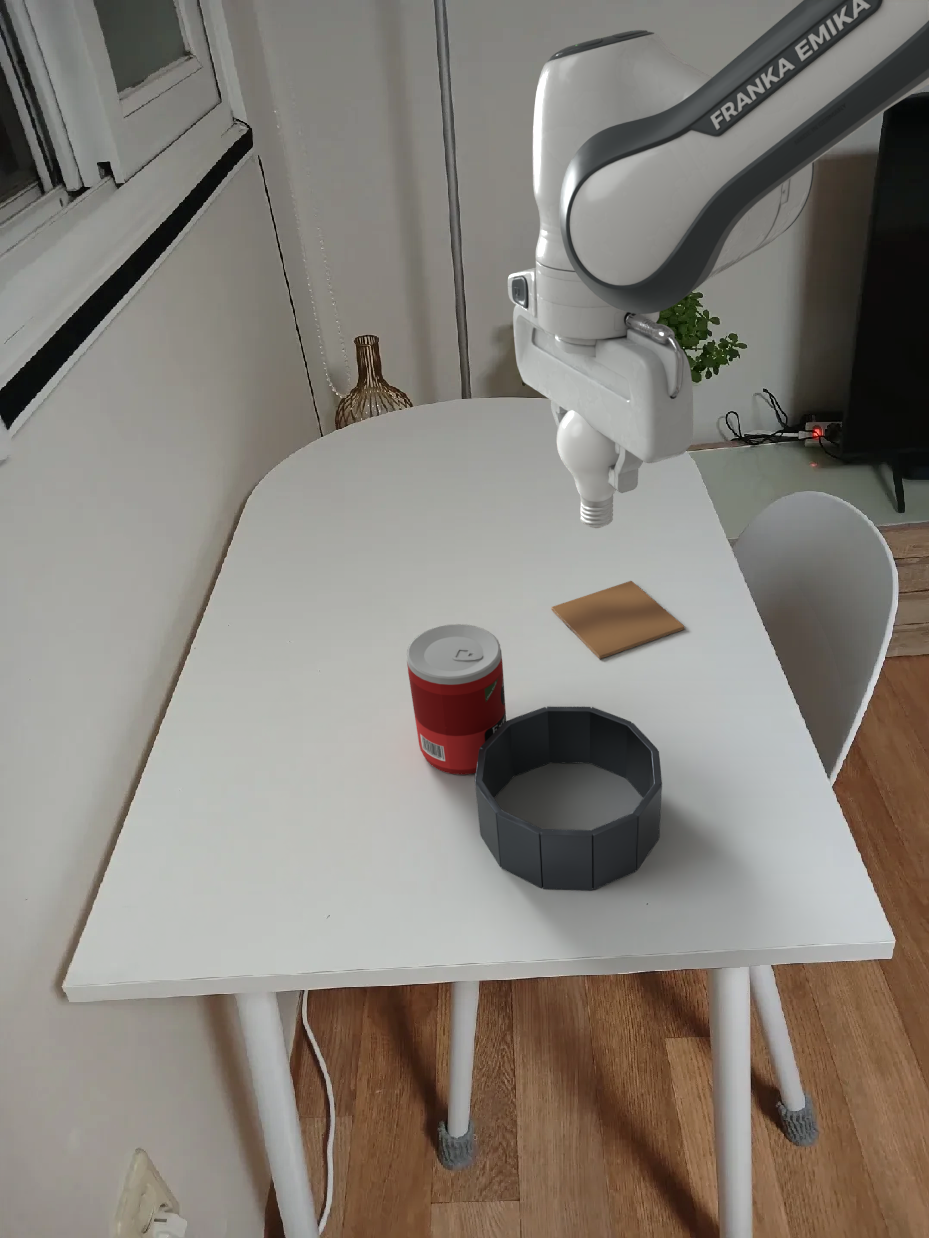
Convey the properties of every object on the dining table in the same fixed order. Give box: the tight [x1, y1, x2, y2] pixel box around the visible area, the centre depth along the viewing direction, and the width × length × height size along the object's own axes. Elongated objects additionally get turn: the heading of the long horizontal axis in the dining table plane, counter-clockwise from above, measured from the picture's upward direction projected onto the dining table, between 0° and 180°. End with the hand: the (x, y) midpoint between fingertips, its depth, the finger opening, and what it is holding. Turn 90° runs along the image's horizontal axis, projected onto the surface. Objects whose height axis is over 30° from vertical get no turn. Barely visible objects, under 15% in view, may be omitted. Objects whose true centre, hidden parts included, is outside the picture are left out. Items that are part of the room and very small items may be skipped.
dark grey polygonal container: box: [474, 705, 663, 891], centre depth 76 cm, size 14×14×6 cm
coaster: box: [550, 580, 685, 660], centre depth 99 cm, size 10×10×1 cm
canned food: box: [406, 623, 507, 775], centre depth 82 cm, size 8×8×11 cm
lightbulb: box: [556, 411, 619, 529], centre depth 76 cm, size 6×6×11 cm
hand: (597, 469), depth 77 cm, fingers closed on lightbulb, 6 cm apart
